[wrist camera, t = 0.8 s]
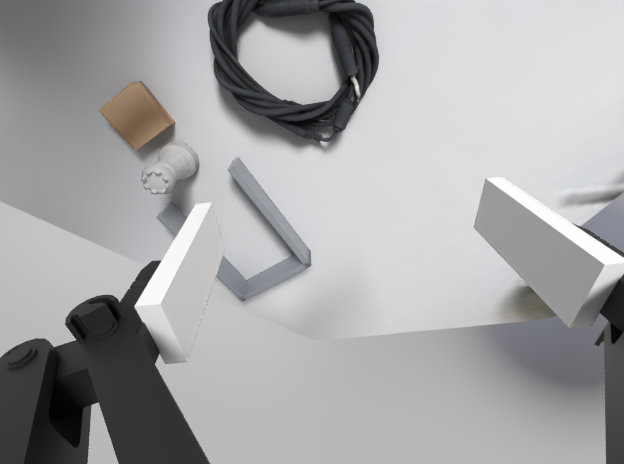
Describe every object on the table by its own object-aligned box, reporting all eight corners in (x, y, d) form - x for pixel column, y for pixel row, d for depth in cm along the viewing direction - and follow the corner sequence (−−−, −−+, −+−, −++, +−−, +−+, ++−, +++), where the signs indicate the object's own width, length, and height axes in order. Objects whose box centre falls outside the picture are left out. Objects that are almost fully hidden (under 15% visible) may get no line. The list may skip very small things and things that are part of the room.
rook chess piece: (191, 136, 36) (166, 157, 29) (205, 171, 38) (185, 198, 32) (155, 144, 36) (122, 166, 30) (171, 179, 39) (144, 207, 32)
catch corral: (166, 204, 41) (156, 217, 38) (238, 157, 38) (233, 166, 35) (245, 285, 48) (242, 301, 45) (310, 251, 45) (311, 265, 42)
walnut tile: (110, 106, 34) (98, 110, 32) (142, 80, 33) (132, 83, 31) (145, 144, 37) (135, 150, 35) (176, 121, 36) (168, 126, 33)
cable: (193, 69, 33) (180, 71, 29) (249, -85, 27) (241, -106, 23) (327, 149, 38) (330, 161, 34) (398, 35, 32) (412, 33, 28)
